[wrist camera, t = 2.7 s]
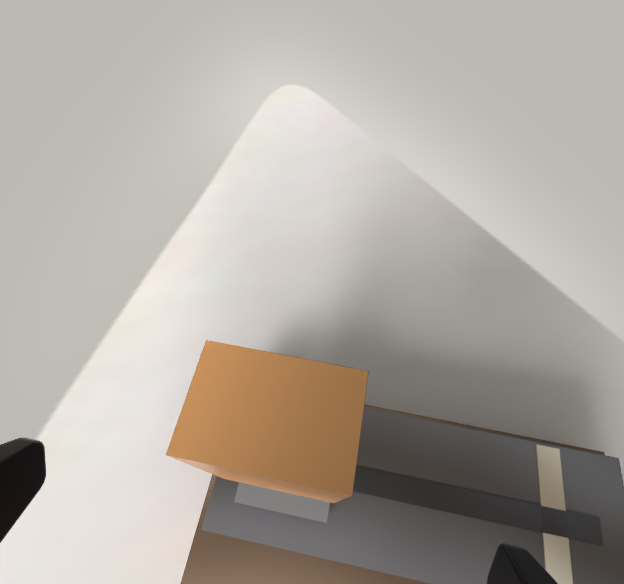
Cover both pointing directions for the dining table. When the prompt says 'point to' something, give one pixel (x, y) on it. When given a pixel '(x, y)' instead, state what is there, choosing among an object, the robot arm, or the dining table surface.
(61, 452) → the dining table surface
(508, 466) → the fader console
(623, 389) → the dining table surface
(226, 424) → the cap
